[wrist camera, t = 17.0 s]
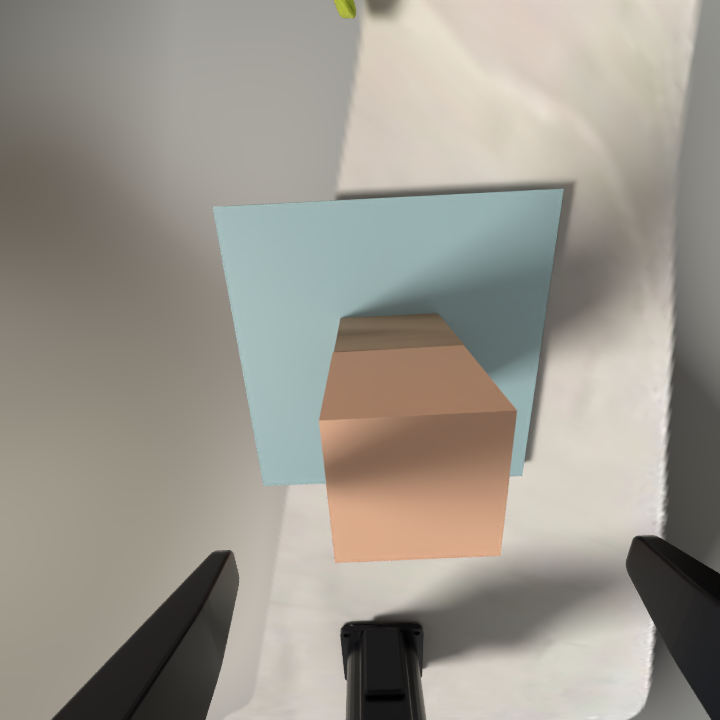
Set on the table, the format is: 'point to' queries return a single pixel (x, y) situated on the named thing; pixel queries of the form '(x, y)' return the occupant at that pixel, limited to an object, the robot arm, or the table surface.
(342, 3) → the bird rattle
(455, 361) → the terracotta cube
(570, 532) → the table surface
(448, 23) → the table surface
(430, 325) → the walnut cube
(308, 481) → the board
